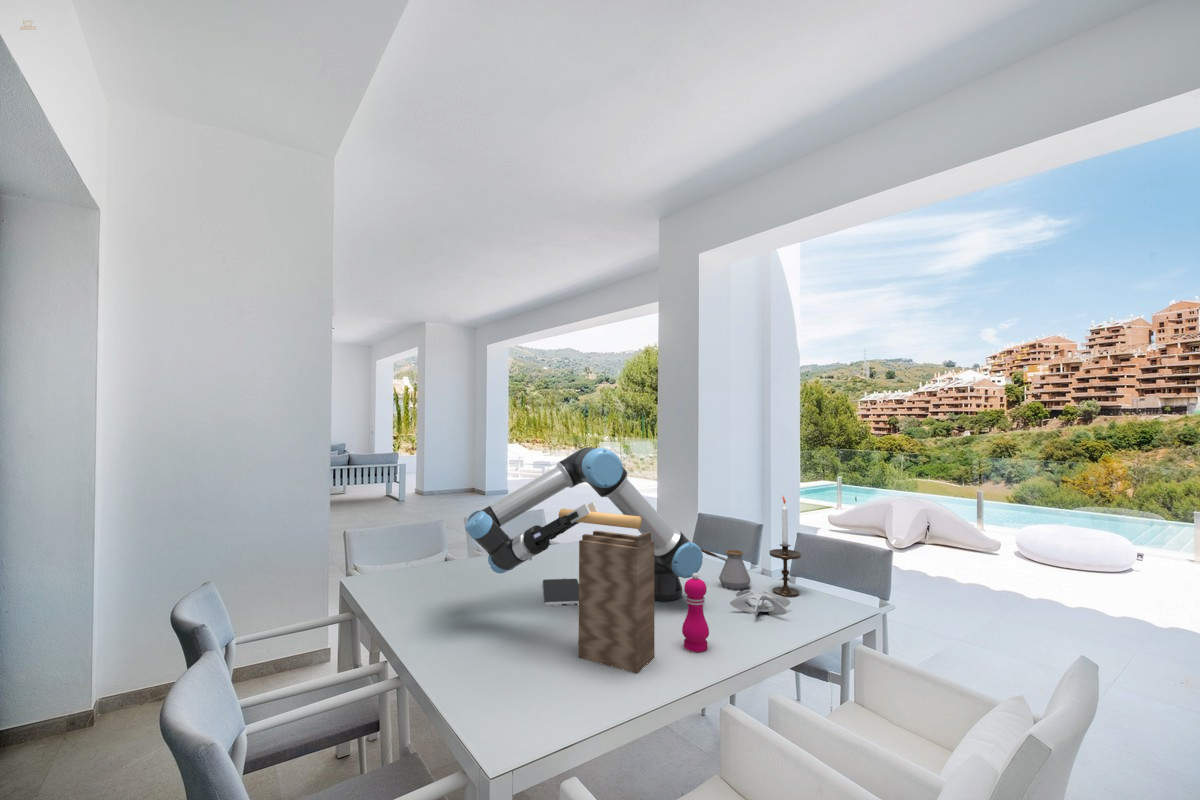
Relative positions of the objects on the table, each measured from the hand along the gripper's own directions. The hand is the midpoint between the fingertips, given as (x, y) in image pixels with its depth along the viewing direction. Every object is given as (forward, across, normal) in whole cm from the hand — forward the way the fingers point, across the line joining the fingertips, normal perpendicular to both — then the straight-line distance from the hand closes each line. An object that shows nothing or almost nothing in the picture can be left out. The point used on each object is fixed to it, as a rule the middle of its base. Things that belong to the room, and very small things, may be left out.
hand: (591, 507), depth 143 cm
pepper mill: (+1, -17, -45) cm, 48 cm away
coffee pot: (-9, -73, -40) cm, 83 cm away
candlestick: (+10, -78, -50) cm, 94 cm away
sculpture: (+8, -54, -49) cm, 73 cm away
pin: (0, 0, -5) cm, 5 cm away
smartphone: (-50, -36, -16) cm, 63 cm away
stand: (-12, 0, -37) cm, 39 cm away
